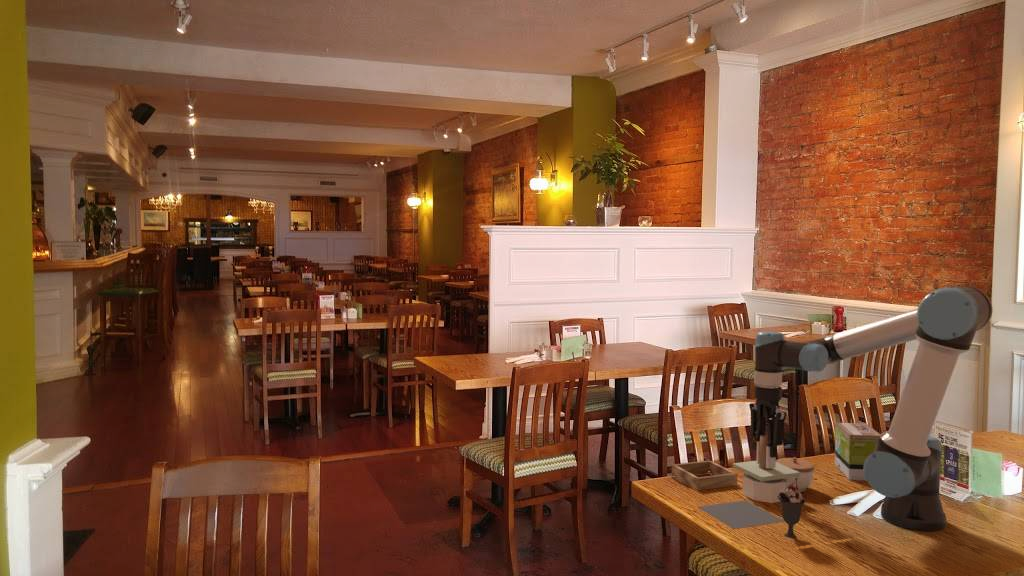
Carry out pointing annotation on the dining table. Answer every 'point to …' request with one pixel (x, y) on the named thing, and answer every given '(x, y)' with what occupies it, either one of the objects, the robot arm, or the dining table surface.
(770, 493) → the bowl
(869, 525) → the dining table surface
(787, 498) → the sundae
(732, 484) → the tray
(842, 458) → the tea box
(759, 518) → the mat
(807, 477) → the lidded jar
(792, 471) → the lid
